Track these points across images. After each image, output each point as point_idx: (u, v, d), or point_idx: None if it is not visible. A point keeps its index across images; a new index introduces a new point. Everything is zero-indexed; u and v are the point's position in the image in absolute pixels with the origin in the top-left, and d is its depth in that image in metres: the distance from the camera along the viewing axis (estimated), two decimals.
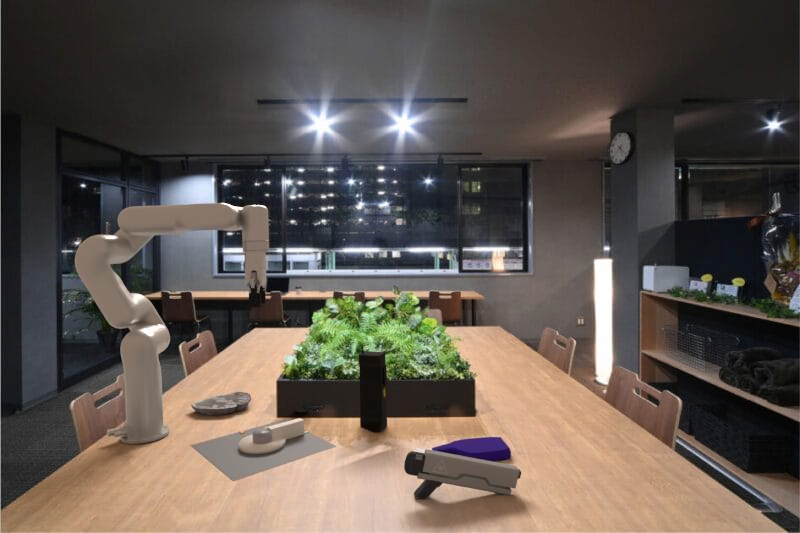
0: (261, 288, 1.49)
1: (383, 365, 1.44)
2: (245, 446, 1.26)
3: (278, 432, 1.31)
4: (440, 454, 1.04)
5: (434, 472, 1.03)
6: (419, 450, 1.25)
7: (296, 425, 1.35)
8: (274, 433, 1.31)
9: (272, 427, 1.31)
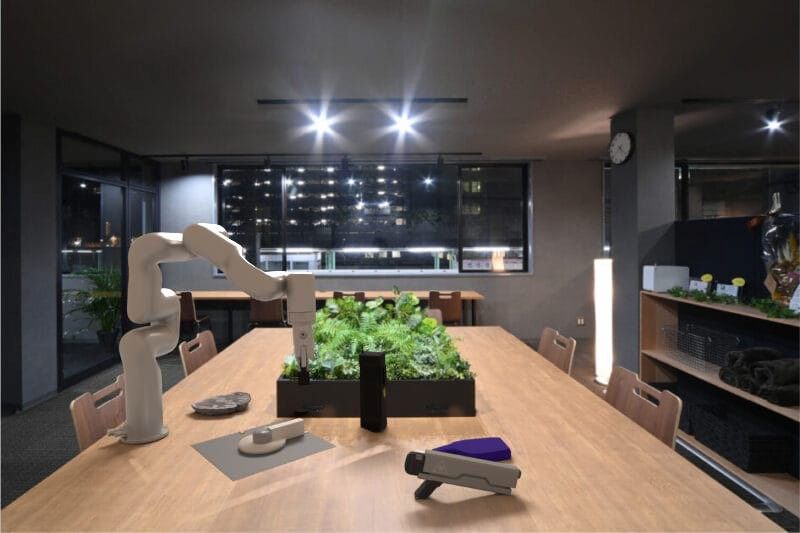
0: None
1: (383, 365, 1.43)
2: (245, 446, 1.26)
3: (278, 432, 1.31)
4: (440, 454, 1.04)
5: (434, 472, 1.03)
6: (419, 451, 1.24)
7: (296, 425, 1.35)
8: (274, 433, 1.31)
9: (272, 427, 1.31)
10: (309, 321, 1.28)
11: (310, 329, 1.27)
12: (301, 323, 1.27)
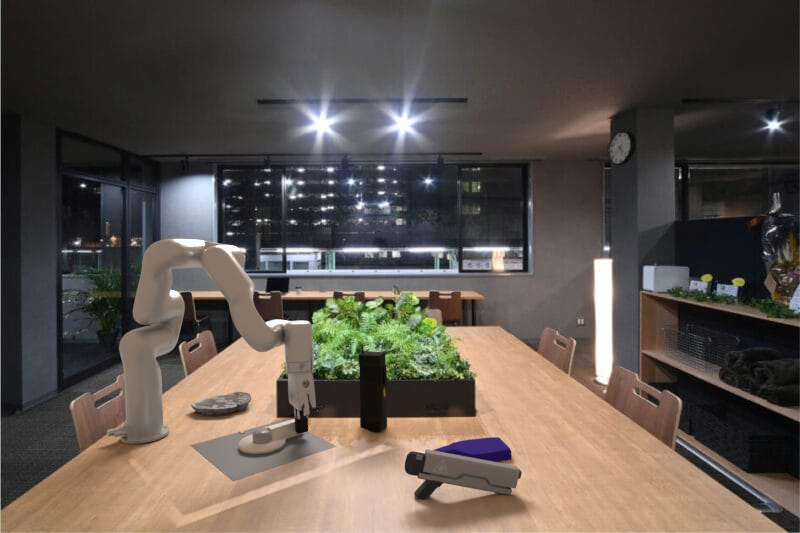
0: None
1: (383, 365, 1.44)
2: (245, 446, 1.26)
3: (278, 432, 1.32)
4: (441, 454, 1.04)
5: (434, 472, 1.03)
6: None
7: None
8: (274, 433, 1.31)
9: (272, 427, 1.31)
10: (309, 369, 1.32)
11: (312, 377, 1.31)
12: (303, 372, 1.30)
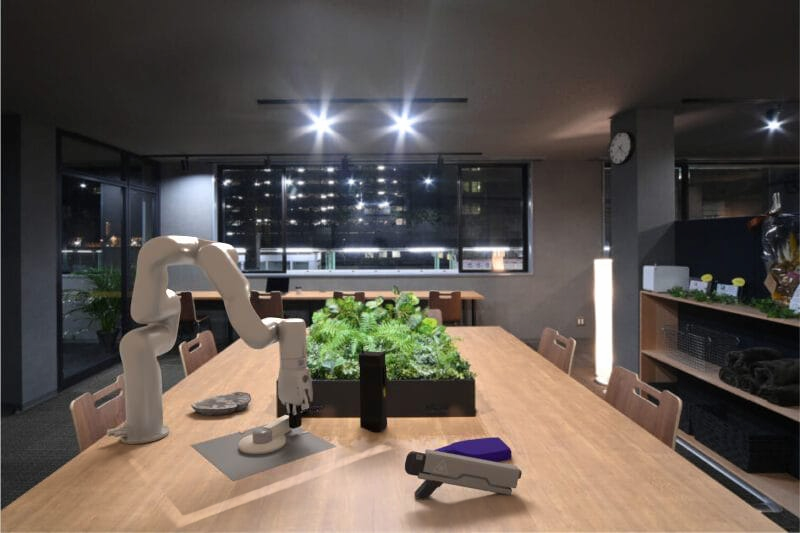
0: None
1: (383, 365, 1.44)
2: (252, 447, 1.25)
3: (275, 430, 1.33)
4: (441, 454, 1.04)
5: (435, 472, 1.03)
6: None
7: (286, 422, 1.38)
8: (272, 432, 1.32)
9: (269, 426, 1.32)
10: (306, 365, 1.37)
11: (309, 372, 1.37)
12: (301, 368, 1.35)
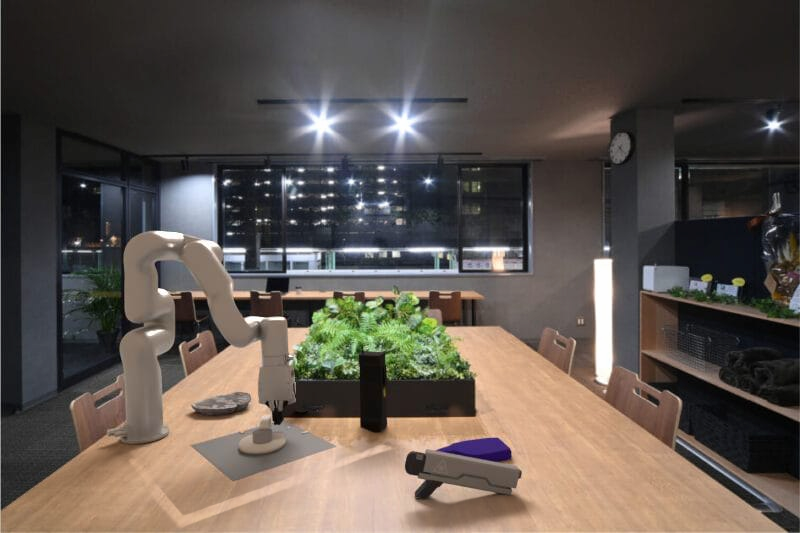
0: None
1: (383, 365, 1.44)
2: (262, 447, 1.25)
3: None
4: (441, 454, 1.04)
5: (435, 472, 1.03)
6: None
7: (270, 420, 1.39)
8: None
9: (264, 426, 1.32)
10: None
11: (292, 367, 1.42)
12: (288, 363, 1.39)
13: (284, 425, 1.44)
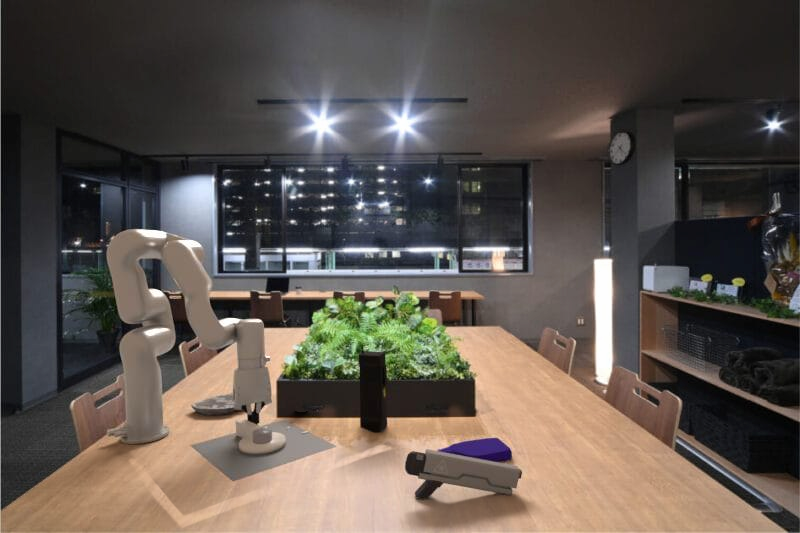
0: (255, 410, 1.39)
1: (383, 365, 1.43)
2: (274, 444, 1.27)
3: None
4: (441, 454, 1.04)
5: (435, 472, 1.03)
6: None
7: None
8: None
9: (257, 427, 1.32)
10: None
11: None
12: None
13: (284, 425, 1.44)
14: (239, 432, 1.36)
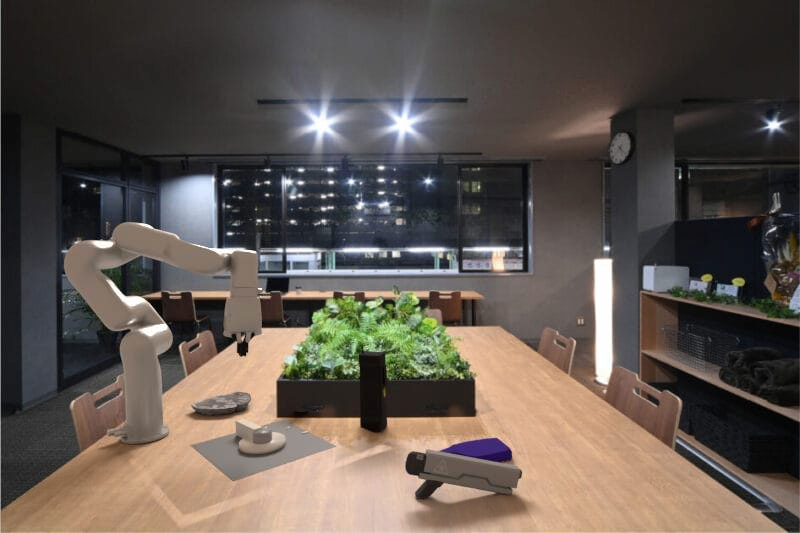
0: (244, 340, 1.42)
1: (383, 365, 1.44)
2: (274, 444, 1.27)
3: None
4: (441, 454, 1.04)
5: (435, 472, 1.03)
6: None
7: None
8: None
9: (257, 427, 1.32)
10: None
11: None
12: None
13: (284, 425, 1.44)
14: (239, 432, 1.36)
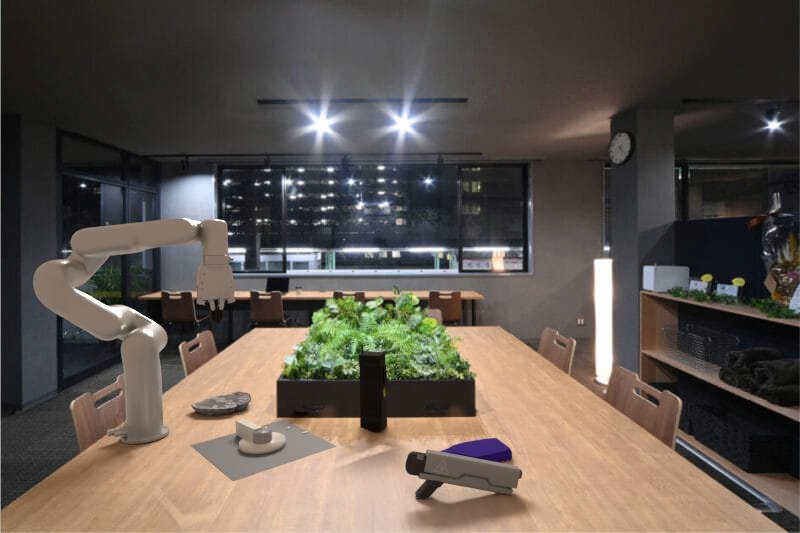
0: (218, 307, 1.45)
1: (383, 365, 1.43)
2: (274, 444, 1.27)
3: None
4: (442, 454, 1.04)
5: (435, 472, 1.03)
6: None
7: None
8: None
9: (257, 427, 1.32)
10: None
11: None
12: (228, 264, 1.46)
13: (284, 425, 1.44)
14: (239, 432, 1.36)
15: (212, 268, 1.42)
